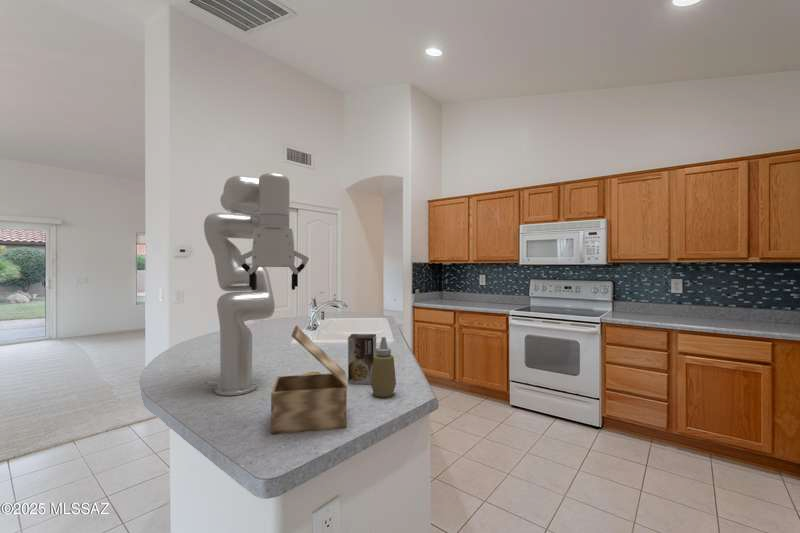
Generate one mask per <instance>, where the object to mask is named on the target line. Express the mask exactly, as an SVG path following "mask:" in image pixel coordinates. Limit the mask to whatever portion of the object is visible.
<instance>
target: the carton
mask: <svg viewBox="0 0 800 533" xmlns="http://www.w3.org/2000/svg"><path fill="white" fill-rule="evenodd" d="M347 388H348V387H346V386H345V385H344V384H343V383H342V382H341V381H339V380H338V379H337V378H336V377H335V376H334V375H333V374H332V373H331V372H329V373H321V374H311V375H303V374H297V375H296V374H295V375H280V376H276V379H275V381H274V384H273V387H272V390H271V392H270V405H271V406H270V435H277V434H280V435H281V434H288V433H300V432H309V431H310V432H314V431H323V430H324V431H325V430H336V429H345V428H346V429H347V408H348V407H347V406H348V404H347V399H348V397H347V395H348V394H347V390H348V389H347Z"/></svg>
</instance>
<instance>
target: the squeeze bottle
mask: <svg viewBox="0 0 800 533" xmlns="http://www.w3.org/2000/svg"><path fill="white" fill-rule="evenodd" d="M395 368H396V366H395V356H394V355H392V349H391V347H388V342H387V339H386V337H385V336H382V337H381V340H380V345H379V347H376V355H375V356H374V357H373V366H372V376H371V384H370V387H371V389H372V392H373V395H374V396H376V397H379V398H388V397H391V396H393V394H394V391H395V388H396V385H397V379H396V378H397V377H396V369H395Z"/></svg>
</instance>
